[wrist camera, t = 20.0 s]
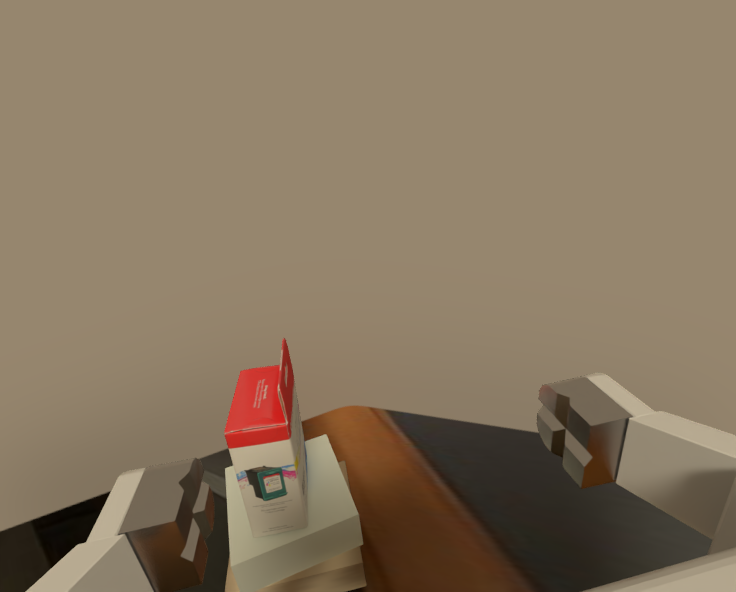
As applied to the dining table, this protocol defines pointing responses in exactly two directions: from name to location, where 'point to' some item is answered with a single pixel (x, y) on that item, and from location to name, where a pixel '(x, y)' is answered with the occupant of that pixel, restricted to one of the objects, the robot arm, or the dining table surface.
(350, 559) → the maple base block
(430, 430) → the dining table surface
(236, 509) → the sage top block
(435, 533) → the dining table surface
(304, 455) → the ink box
